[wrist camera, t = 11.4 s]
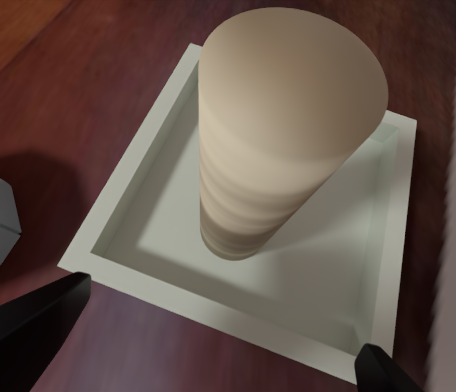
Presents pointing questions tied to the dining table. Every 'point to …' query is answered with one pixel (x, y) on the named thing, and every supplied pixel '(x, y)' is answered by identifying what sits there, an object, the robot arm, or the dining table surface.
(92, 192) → the dining table surface
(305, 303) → the sage tray
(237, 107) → the maple dowel
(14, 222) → the slate cup
